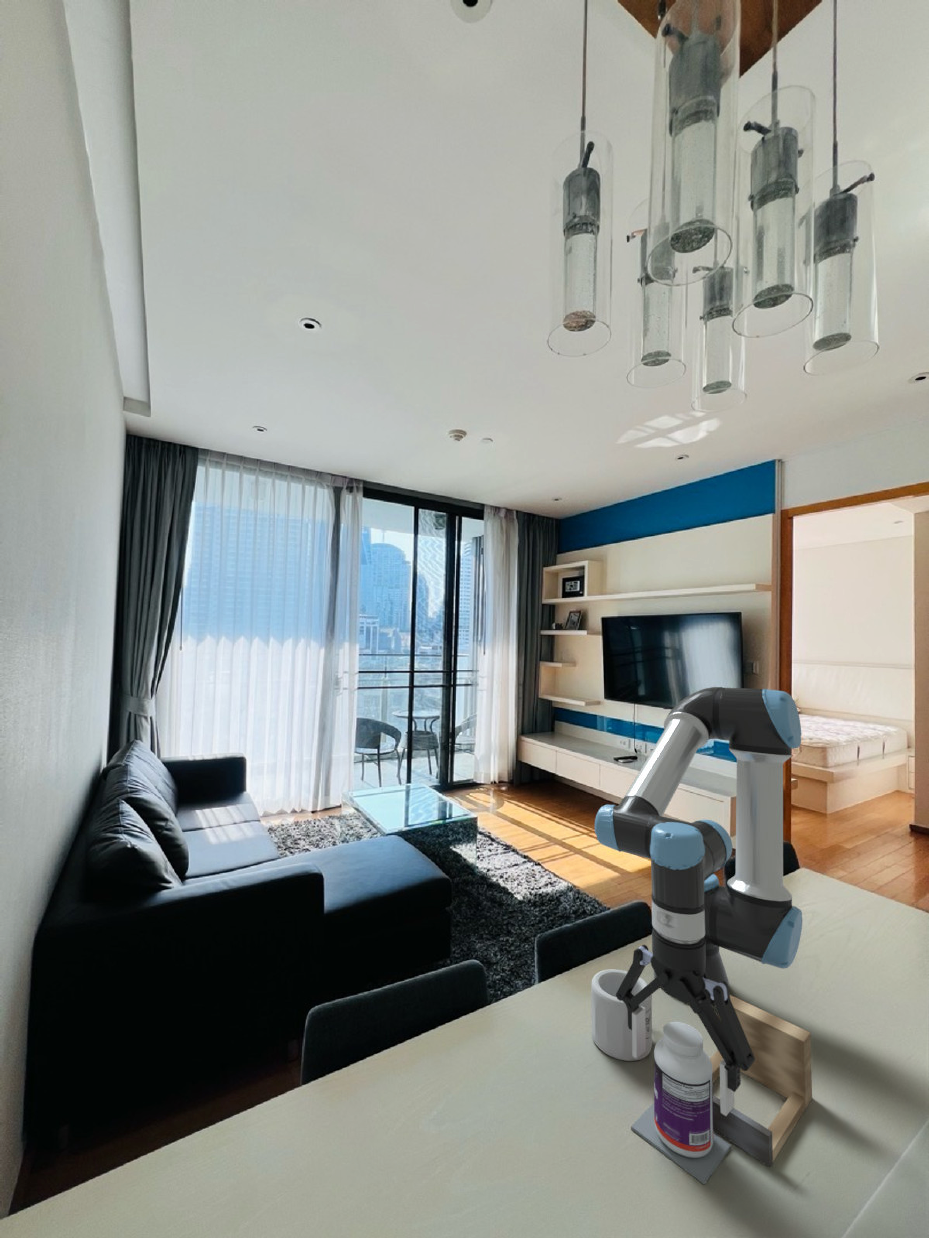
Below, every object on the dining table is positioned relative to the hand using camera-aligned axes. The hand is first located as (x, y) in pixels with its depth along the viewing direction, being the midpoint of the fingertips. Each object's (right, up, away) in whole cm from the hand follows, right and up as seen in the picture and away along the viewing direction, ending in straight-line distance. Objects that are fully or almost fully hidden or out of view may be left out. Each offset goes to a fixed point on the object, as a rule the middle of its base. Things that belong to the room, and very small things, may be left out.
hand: (680, 1079), depth 79 cm
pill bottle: (0, -8, -1) cm, 8 cm away
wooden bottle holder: (+12, -9, +5) cm, 16 cm away
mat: (0, -8, -1) cm, 8 cm away
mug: (-2, -10, +20) cm, 22 cm away
